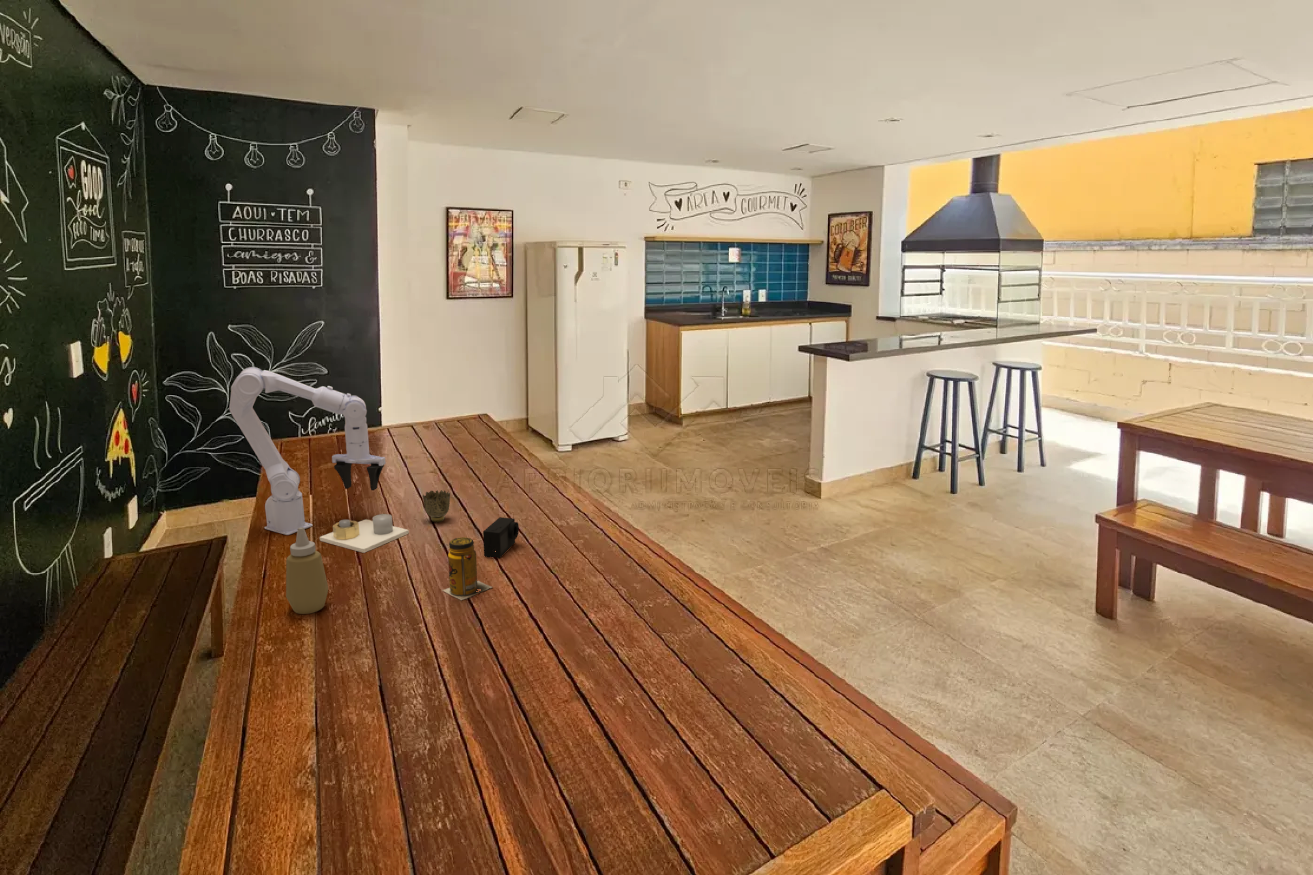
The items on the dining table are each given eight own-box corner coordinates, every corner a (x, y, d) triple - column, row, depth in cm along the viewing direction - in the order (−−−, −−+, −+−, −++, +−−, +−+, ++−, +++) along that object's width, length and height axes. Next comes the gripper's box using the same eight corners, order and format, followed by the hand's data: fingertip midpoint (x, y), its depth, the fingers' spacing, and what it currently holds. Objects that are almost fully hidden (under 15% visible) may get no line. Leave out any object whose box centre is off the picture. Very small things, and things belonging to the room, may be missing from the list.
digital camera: (504, 559, 178) (503, 533, 176) (483, 557, 179) (482, 531, 177) (519, 543, 188) (519, 518, 186) (500, 541, 189) (499, 516, 187)
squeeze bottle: (316, 595, 157) (308, 518, 152) (337, 606, 152) (330, 527, 148) (280, 609, 150) (270, 529, 146) (301, 621, 146) (292, 539, 141)
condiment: (441, 590, 160) (439, 541, 157) (473, 578, 167) (471, 530, 164) (461, 601, 156) (458, 550, 153) (492, 588, 162) (491, 539, 159)
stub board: (319, 540, 186) (318, 522, 185) (366, 522, 199) (364, 505, 198) (363, 552, 179) (362, 534, 178) (408, 533, 192) (407, 515, 191)
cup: (443, 526, 198) (442, 499, 196) (419, 524, 199) (417, 496, 197) (456, 517, 205) (454, 490, 203) (432, 515, 206) (430, 488, 204)
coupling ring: (331, 534, 188) (330, 524, 187) (353, 529, 191) (352, 519, 191) (339, 541, 184) (338, 530, 183) (362, 536, 187) (361, 525, 187)
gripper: (323, 443, 192) (328, 491, 196) (374, 446, 191) (378, 494, 194) (338, 437, 199) (342, 483, 202) (387, 439, 197) (391, 486, 201)
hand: (361, 488), depth 199 cm, fingers open, 7 cm apart
